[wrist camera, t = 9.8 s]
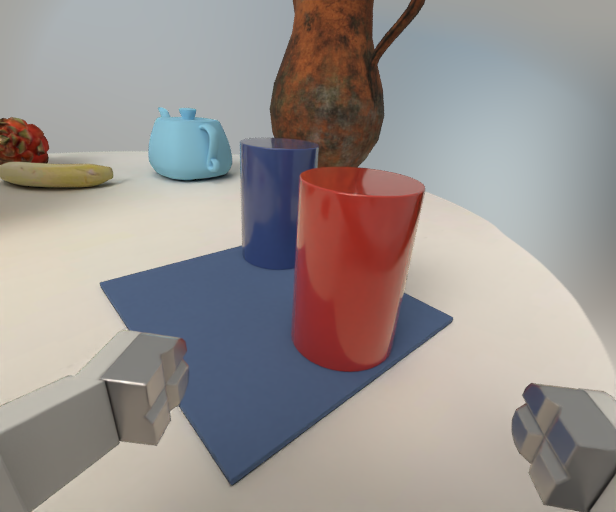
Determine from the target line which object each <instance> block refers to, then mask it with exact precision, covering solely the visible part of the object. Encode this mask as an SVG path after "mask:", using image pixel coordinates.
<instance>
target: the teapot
mask: <svg viewBox="0 0 616 512" xmlns="http://www.w3.org/2000/svg"><path fill="white" fill-rule="evenodd" d="M158 110H159V112H160V114H161V117H159V118H157V119H156V121H155V123H154V126H153V130H152V133H151V137H150V142H149V162H150V164H151V166H152V167H153V168H154V170H155V171H156V172H157V173H159V174H161V175H163V176H166V177H169V178H173V179H181V180H185V181H188V180H193V179H201V178H210V177H218V176H220V175H224V174H227V173H228V171H229V169H230V168H231V165H232V155H231V149H230V146H229V142H228V140H227V137H226V135H225V132H224V130H223V128H222V126H221V124H220V122H219V121H217V120H213V119H207V118H197V117H195V114H196V109H192V108H180V109H179V111H180V114H181V116H182V117H170V115H169V113H168V111H167V110H166V109H164V108H160V107H159V108H158Z"/></svg>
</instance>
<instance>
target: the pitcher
mask: <svg viewBox="0 0 616 512" xmlns="http://www.w3.org/2000/svg"><path fill="white" fill-rule="evenodd" d="M373 2H374V0H293V5H294V12H295V17H294V24H293V31H292V35H291V38H290V40H289V43H288V46H287V49H286V52H285V54H284V57H283V60H282V63H281V66H280V68H279V71H278V74H277V77H276V80H275V82H274V87H273V93H272V99H271V105H270V113H271V114H270V115H271V123H272V132H273V135H274V137H275V138H286V139H296V140H303V141H309V142H313V143H316V144H318V145H319V157H318V168H321V167H358V166H359V165H360V164H361V163H362V162H363V161H364V160H365V159H366V158H367V156H368V154H369V153H370V152H371V150H372V149H373V147H374V146H375V144H376V143H377V141H378V139H379V135H380V131H381V127H382V123H383V119H384V102H383V89H382V84H381V79H380V75H379V70H378V66H377V64H378V62H379V59H380V58H381V56H382V55H383V54H384V52H385V51H386V49H387V48H388V47H389V46H390V45H391V44H392V42H393V41H394V40H395V39H396V38H397V37H398V36H399V35H400V33H401V32H402V31H403V30H404V29H405V28H406V27H407V26H408V25H409V23H410V22H411V21H412V20H413V19H414V17H416V15H417V14H418V13H419V11H420V10H421V8H422V6H423V5H424V2H425V0H411V2H410V3H409V5H408V7H407V9H406V10H405V12H404V13H403V14H402V15H401V17H400V18H399V19H398V20H397V22H396V23H395V24H394V25H393V27H391V29H390V30H389V31H388V32H387V33H386V34H385V36H384V37H383V38H382V40H381V41H380V43H379V44H378V45H377V47H376V48H375V50H374V44H373V40H372V26H373V21H372V20H373Z"/></svg>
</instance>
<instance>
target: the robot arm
mask: <svg viewBox="0 0 616 512" xmlns="http://www.w3.org/2000/svg"><path fill="white" fill-rule="evenodd" d="M186 352H187V347H186V341H185V340H184V339H183V338H178V337H172V336H165V335H159V334H152V333H146V332H144V333H142V332H136V331H130V330H123V331H120V332H118V333H117V334H116V335H115V336H114V337H113V338H112V339H111V340H110V341H109V342H108V343H107V344H106V345H105V346H104V347H103V348H102V349H101V350H100V351H99V352H98V353H97V354H96V355H95V356H94V357H93V358H92V359H91V360H90V361H89V362H88V363H87V364H86V365H85V366H84V367H83V368H82V369H81V370H80V371H79V373H78V374H77V375H76V376H66V377H64V378H62V379H59V380H57V381H55V382H53V383H50V384H48V385H46V386H44V387H42V388H39V389H37V390H35V391H33V392H30V393H28V394H26V395H24V396H22V397H19V398H17V399H15V400H13V401H10V402H8V403H6V404H4V405H2V406H0V512H31V511H32V510H34V509H35V508H36V507H38V506H39V505H40V504H42V503H43V502H44V501H46V500H47V499H48V498H49V497H51V496H52V495H53V494H55V493H56V492H57V491H59V490H60V489H61V488H62V487H64V486H65V485H66V484H68V483H69V482H70V481H72V480H73V479H74V478H75V477H77V476H78V475H79V474H81V473H82V472H83V471H85V470H86V469H87V468H88V467H90V466H91V465H92V464H94V463H95V462H96V461H98V460H99V459H100V458H101V457H103V456H104V455H105V454H107V453H108V452H109V451H111V450H112V449H113V448H115V447H116V446H117V445H118V444H119V443H120V442H119V441H122V442H130V443H139V444H147V445H155V446H157V444H158V442H159V441H160V439H161V437H162V435H163V433H164V432H165V430H166V428H167V426H168V424H169V423H170V421H171V418H170V410H172V409H173V408H175V407H177V406H178V405H180V403H181V401H182V399H183V397H184V395H185V392H186V389H187V386H188V382H189V365H188V364H187V363H186V362H185V361H184V360H183V357H184V356H185V354H186ZM522 396H523V398H524V400H525V402H526V404H524V405H522V406H521V407H519V408H518V409H516V411H515V413H514V416H513V418H512V435H513V440H514V443H515V445H516V448H517V450H518V452H519V454H521V455H522V456H523V457H524V458H525V459H526V460H527V461H528V462H529V463H530V464H531V465H530V469H529V472H528V473H529V475H530V477H531V479H532V482H533V484H534V486H535V488H536V490H537V492H538V494H539V496H540V498H541V500H542V502H543V505H547V506H553V507H558V508H564V509H569V510H575V511H581V512H616V401H615V399H614V398H613V397H612V396H611V395H609V394H607V393H606V392H604V391H598V390H589V389H580V388H579V389H575V388H568V387H560V386H552V385H543V384H535V383H531V384H530V385H528V386H527V387H526V389H525V391H524V393H523V395H522Z"/></svg>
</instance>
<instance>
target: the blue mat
mask: <svg viewBox="0 0 616 512" xmlns="http://www.w3.org/2000/svg"><path fill="white" fill-rule="evenodd" d="M293 285H294V268H292V269H285V270H272V269H264V268H260V267H257V266H254V265H252V264H250V263H248V262H247V261H246V260H245V259H244V258H243V256H242V246H239V247H235V248H231V249H227V250H223V251H220V252H216V253H212V254H208V255H204V256H200V257H197V258H193V259H189V260H185V261H181V262H177V263H173V264H170V265H166V266H162V267H158V268H154V269H150V270H146V271H143V272H139V273H135V274H131V275H127V276H123V277H120V278H116V279H112V280H108V281H104V282H100V286H101V288H102V290H103V291H104V293H105V294H106V296H107V297H108V299H109V300H110V302H111V303H112V305H113V306H114V308H115V309H116V311H117V312H118V314H119V315H120V317H121V319H122V320H123V322H124V323H125V325H126V326H127V328H128V329H129V330H130V331H136V332H142V333H144V332H146V333H152V334H159V335H165V336H172V337H178V338H183V339H184V340H185V341H186V347H187V352H186V354H185V356H184V357H183V360H184V361H185V362H186V363H187V364H188V365H189V382H188V386H187V389H186V392H185V395H184V397H183V399H182V401H181V403H180V405H179V407H180V408H181V410H182V411H183V413H184V414H185V416H186V417H187V419H188V420H189V422H190V423H191V425H192V426H193V428H194V429H195V431H196V432H197V434H198V435H199V437H200V438H201V440H202V441H203V443H204V445H205V446H206V448H207V449H208V451H209V452H210V454H211V455H212V457H213V458H214V460H215V461H216V463H217V464H218V466H219V467H220V469H221V470H222V472H223V473H224V475H225V476H226V478H227V479H228V481H229V482H230V484H231V485H233V484H234V483H236V482H237V481H238V480H240V479H241V478H242V477H244V476H245V475H247V474H248V473H249V472H251V471H252V470H253V469H255V468H256V467H257V466H259V465H260V464H261V463H263V462H264V461H265V460H267V459H268V458H269V457H271V456H272V455H273V454H275V453H276V452H277V451H279V450H280V449H282V448H283V447H284V446H286V445H287V444H288V443H290V442H291V441H292V440H294V439H295V438H296V437H298V436H299V435H300V434H302V433H303V432H304V431H306V430H307V429H308V428H310V427H311V426H312V425H314V424H315V423H316V422H318V421H319V420H321V419H322V418H323V417H325V416H326V415H327V414H329V413H330V412H331V411H333V410H334V409H335V408H337V407H338V406H339V405H341V404H342V403H343V402H345V401H346V400H347V399H349V398H350V397H351V396H353V395H354V394H355V393H357V392H358V391H360V390H361V389H362V388H364V387H365V386H366V385H368V384H369V383H370V382H372V381H373V380H374V379H376V378H377V377H378V376H380V375H381V374H382V373H384V372H385V371H386V370H388V369H389V368H390V367H392V366H393V365H395V364H396V363H397V362H399V361H400V360H401V359H403V358H404V357H405V356H407V355H408V354H409V353H411V352H412V351H413V350H415V349H416V348H417V347H419V346H420V345H421V344H423V343H424V342H425V341H427V340H428V339H429V338H431V337H432V336H434V335H435V334H436V333H438V332H439V331H440V330H442V329H443V328H444V327H446V326H447V325H448V324H450V323H451V322H452V320H453V317H451V316H449V315H447V314H445V313H443V312H441V311H439V310H437V309H435V308H433V307H431V306H429V305H427V304H425V303H423V302H421V301H419V300H417V299H415V298H413V297H411V296H409V295H407V294H405V293H404V294H403V299H402V303H401V308H400V313H399V318H398V322H397V327H396V332H395V337H394V341H393V346H392V350H391V353H390V355H389V356H388V357H387V359H386V360H385V361H384V362H382V363H381V364H379V365H378V366H376V367H374V368H371V369H368V370H364V371H358V372H342V371H335V370H331V369H327V368H324V367H321V366H319V365H317V364H314V363H313V362H311V361H309V360H308V359H306V358H305V357H304V356H303V355H302V354H300V353H299V351H298V350H297V349H296V347H295V346H294V344H293V341H292V338H291V324H292V305H293Z"/></svg>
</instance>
